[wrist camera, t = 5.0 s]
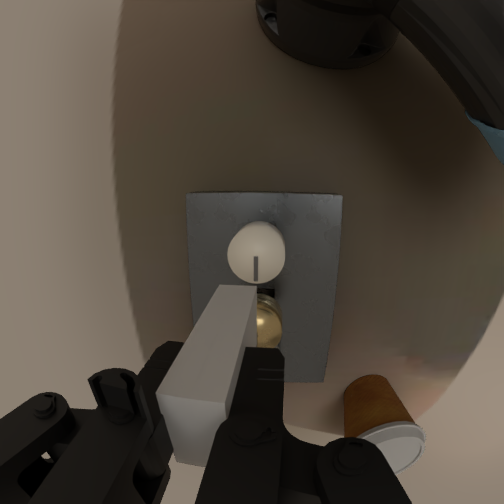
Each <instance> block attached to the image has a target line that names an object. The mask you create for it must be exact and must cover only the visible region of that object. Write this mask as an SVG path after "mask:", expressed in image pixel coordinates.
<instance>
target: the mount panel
mask: <svg viewBox="0 0 504 504" xmlns="http://www.w3.org/2000/svg"><path fill="white" fill-rule="evenodd" d="M342 197H343V196H342V195H339V194H335V193H313V192H278V191H202V192H191V193H186V216H187V241H188V260H189V276H190V290H191V303H192V314H193V325H194V326H195V325H196V323H197V321H198V320H199V318H200V316H201V315H202V313H203V311H204V310H205V308H206V306H207V305H208V303H209V301H210V300H211V298H212V296H213V295H214V293H215V291H216V289H217V288H218V286H219V285H243V286H257V288H268V289H275V300H276V301H277V302H278V303H279V305H280V307H281V309H282V336H281V340H280V342H279V343H278V347H279V349H280V352H281V353H282V355H283V356H284V358H285V368H284V382H323V381H324V375H325V369H326V363H327V356H328V350H329V343H330V336H331V329H332V321H333V313H334V304H335V295H336V286H337V276H338V264H339V252H340V237H341V220H342ZM254 221H264V222H268V223H270V224H272V225H276V227H277V228H278V229H279V231H280V232H281V233H282V235H283V237H284V241H285V262H284V265H283V268H282V270H281V271H280V273H279V274H278V275H277V276H276V277H275V278H273V279H272V280H270V281H268V282H265V283H258V284H255V283H249V282H246V281H244V280H242V279H240V278H239V277H238V276H237V275H236V274H235V273H234V272H233V271H232V269H231V267H230V265H229V263H228V256H227V253H228V247H229V244H230V242H231V241H232V239H233V238H234V237H235V235H236V234H237V233H238V232H239V231H240V229H241V228H242V227H244V226H245V225H246V224H248V223H251V222H254Z"/></svg>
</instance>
